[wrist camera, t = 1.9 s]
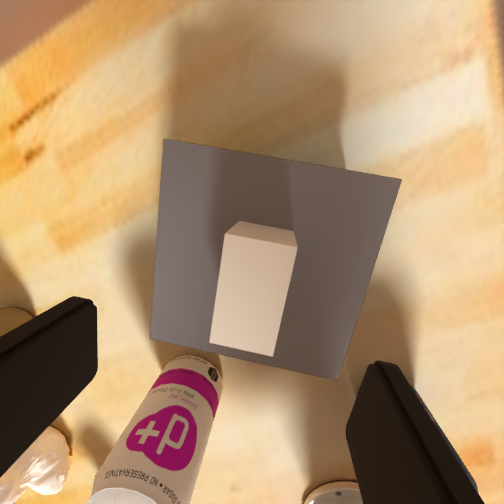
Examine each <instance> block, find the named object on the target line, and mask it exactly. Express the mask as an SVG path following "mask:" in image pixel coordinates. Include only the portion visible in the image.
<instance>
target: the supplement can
mask: <svg viewBox="0 0 504 504" xmlns="http://www.w3.org/2000/svg"><path fill="white" fill-rule="evenodd" d="M222 390H223V383H222V378H221V376H220V374H219V372H218V370H217V369H216V368H215V367H214V366H213V365H212V364H211V363H210V362H208V361H207V360H205V359H203V358H201V357H197V356H191V355H185V356H178V357H176V358H174V359H173V360H171V361H169V362H168V364H167V365H166V366H165V368H164V369H163V371H162V372H161V374H160V375H159V377H158V378H157V380H156V382H155V383H154V385H153V386H152V388H151V389H150V391H149V392H148V394H147V396H146V397H145V399H144V400H143V402H142V403H141V405H140V406H139V408H138V410H137V411H136V413H135V414H134V416H133V417H132V419H131V420H130V422H129V424H128V425H127V427H126V428H125V430H124V431H123V433H122V434H121V436H120V438H119V439H118V441H117V442H116V444H115V445H114V447H113V448H112V450H111V452H110V453H109V455H108V456H107V458H106V459H105V461H104V463H103V464H102V466H101V467H100V469H99V470H98V472H97V473H96V475H95V479H94V484H93V490H92V495H91V498H90V499H89V501H88V504H190V500H191V497H192V493H193V490H194V486H195V483H196V479H197V476H198V472H199V469H200V466H201V462H202V459H203V455H204V452H205V448H206V445H207V441H208V438H209V434H210V431H211V428H212V424H213V421H214V417H215V414H216V410H217V407H218V403H219V400H220V397H221V393H222Z"/></svg>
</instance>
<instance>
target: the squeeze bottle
mask: <svg viewBox="0 0 504 504" xmlns="http://www.w3.org/2000/svg"><path fill="white" fill-rule="evenodd" d="M31 319H33V317H32V316H31V315H30V314H29V313H28V312H27V311H24V310H22V309H20V308H14V307H9V308H3V309H0V337H1V336H2V335H4V334H6V333H8V332H10V331H11V330H13V329H15V328H17V327H18V326H20V325H22V324H24V323H26V322H27V321H29V320H31Z"/></svg>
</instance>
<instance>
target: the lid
mask: <svg viewBox="0 0 504 504" xmlns="http://www.w3.org/2000/svg"><path fill="white" fill-rule="evenodd" d="M401 181H402V179H398V178H392V177H386V176H380V175H374V174H368V173H362V172H357V171H351V170H345V169H339V168H333V167H327V166H322V165H316V164H310V163H304V162H298V161H292V160H286V159H281V158H275V157H269V156H263V155H257V154H251V153H245V152H240V151H234V150H228V149H222V148H216V147H210V146H204V145H199V144H193V143H187V142H181V141H175V140H169V139H164V140H163V154H162V169H161V183H160V198H159V213H158V227H157V242H156V257H155V271H154V286H153V300H152V315H151V330H150V339H153V340H158V341H162V342H167V343H171V344H175V345H180V346H184V347H189V348H193V349H198V350H202V351H207V352H211V353H215V354H220V355H224V356H229V357H233V358H238V359H242V360H247V361H251V362H256V363H260V364H264V365H269V366H273V367H278V368H282V369H287V370H291V371H296V372H300V373H304V374H309V375H313V376H318V377H322V378H327V379H331V380H336V381H337V380H338V377H339V374H340V371H341V368H342V365H343V362H344V358H345V355H346V352H347V349H348V346H349V343H350V340H351V337H352V334H353V330H354V327H355V324H356V321H357V318H358V315H359V312H360V309H361V306H362V302H363V299H364V296H365V293H366V290H367V287H368V284H369V281H370V278H371V274H372V271H373V268H374V265H375V262H376V259H377V256H378V253H379V250H380V246H381V243H382V240H383V237H384V234H385V231H386V228H387V225H388V221H389V218H390V215H391V212H392V209H393V206H394V203H395V200H396V197H397V193H398V190H399V187H400V184H401Z"/></svg>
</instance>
